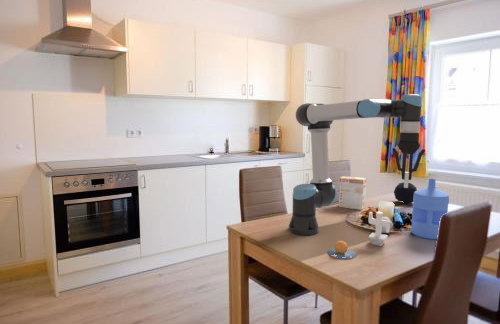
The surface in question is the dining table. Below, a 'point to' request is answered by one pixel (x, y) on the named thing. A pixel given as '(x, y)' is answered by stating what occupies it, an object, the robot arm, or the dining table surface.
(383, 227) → the die
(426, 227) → the water jug
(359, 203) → the coffeecake box
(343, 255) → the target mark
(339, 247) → the ball
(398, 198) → the decorative orb
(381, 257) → the dining table surface
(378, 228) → the figurine
